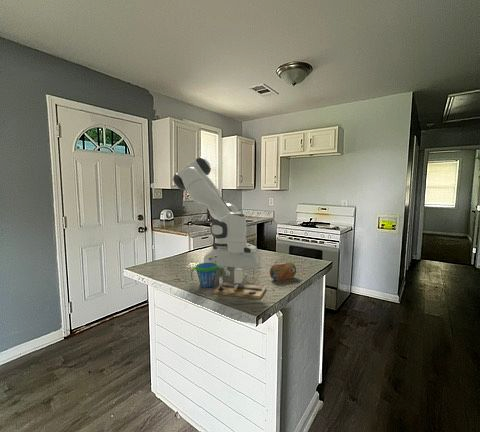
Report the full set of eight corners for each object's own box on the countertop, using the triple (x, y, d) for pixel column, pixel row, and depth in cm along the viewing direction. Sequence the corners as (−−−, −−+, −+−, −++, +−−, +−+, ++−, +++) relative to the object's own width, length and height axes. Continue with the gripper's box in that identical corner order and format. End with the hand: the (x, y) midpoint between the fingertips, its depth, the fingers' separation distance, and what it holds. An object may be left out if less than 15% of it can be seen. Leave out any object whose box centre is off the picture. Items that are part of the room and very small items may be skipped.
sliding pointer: (230, 290, 121) (230, 272, 120) (236, 285, 127) (235, 268, 127) (239, 291, 120) (239, 273, 119) (244, 285, 126) (243, 268, 125)
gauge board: (212, 293, 122) (212, 289, 121) (222, 284, 133) (222, 280, 133) (260, 298, 115) (260, 294, 114) (266, 289, 126) (266, 285, 126)
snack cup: (190, 290, 126) (189, 268, 125) (192, 282, 137) (191, 263, 136) (223, 288, 128) (223, 267, 127) (222, 281, 138) (222, 261, 137)
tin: (271, 282, 136) (271, 265, 135) (268, 280, 139) (268, 264, 138) (296, 277, 142) (296, 262, 141) (293, 276, 145) (293, 260, 144)
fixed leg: (218, 290, 122) (218, 277, 122) (220, 288, 124) (219, 276, 123) (222, 290, 122) (221, 278, 121) (223, 289, 123) (223, 276, 123)
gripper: (213, 247, 123) (214, 276, 125) (256, 249, 117) (256, 280, 118) (219, 244, 129) (219, 272, 131) (260, 247, 123) (260, 276, 124)
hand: (237, 276), depth 124 cm, fingers open, 8 cm apart
